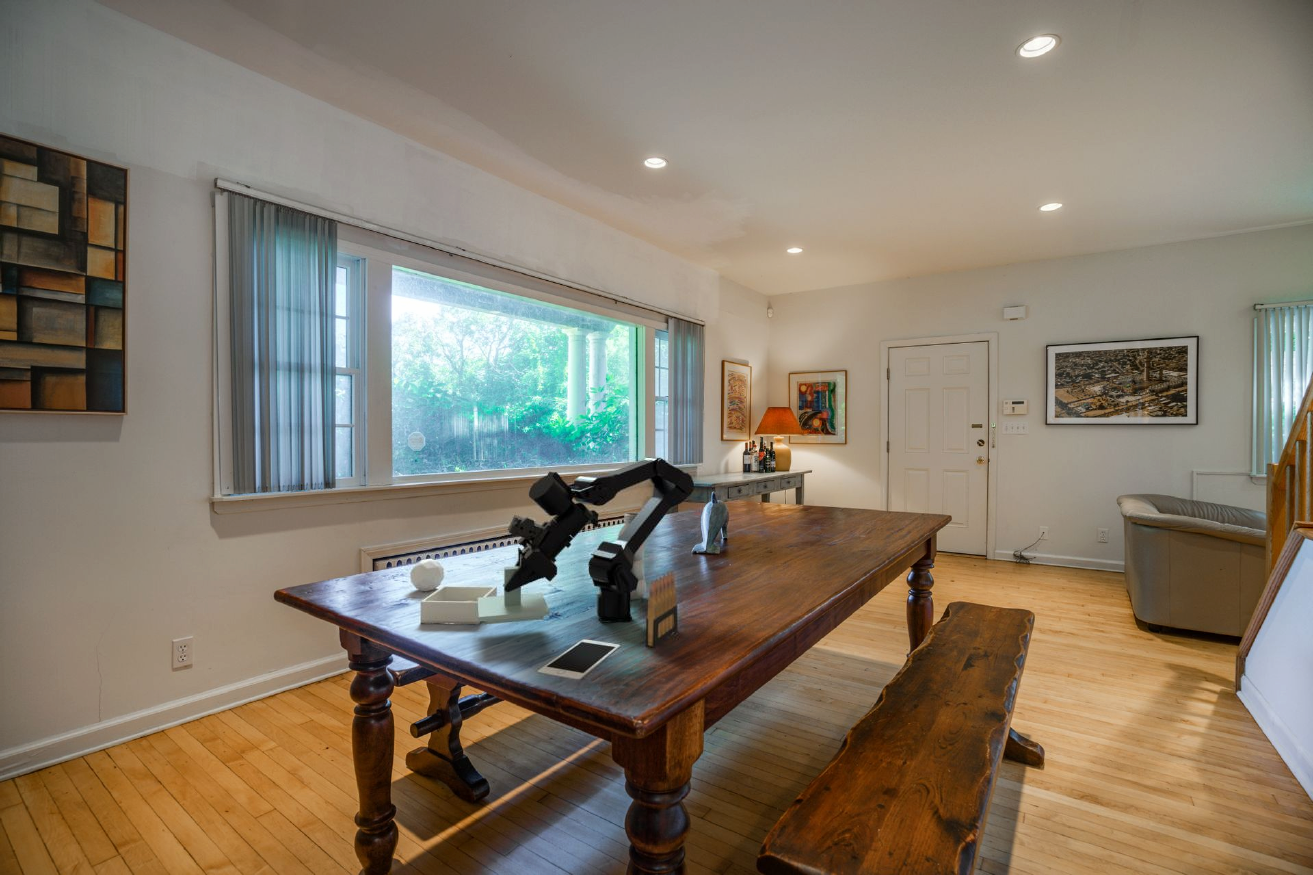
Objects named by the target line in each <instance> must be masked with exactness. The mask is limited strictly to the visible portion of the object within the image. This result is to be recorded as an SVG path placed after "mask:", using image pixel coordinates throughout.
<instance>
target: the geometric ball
mask: <svg viewBox="0 0 1313 875" xmlns="http://www.w3.org/2000/svg"><path fill="white" fill-rule="evenodd" d="M444 570H445V569H444V567H443V566H442V564H440V562H439V561H438V560H435V559H433V558H428V559H427V558H425V559H421V560H420V561H418V562H417V563H416V564H414V566H413V568H412V569H411V570H410V572H409V574H410V582H411V584H412V586H414V588H416V589H417V590H418V591H421V592H423V591H425V592H431V591H434V590H435V589H437V588H438V587H439V586H440V585H441V584H442V582H443V581H444V578H445V572H444Z"/></svg>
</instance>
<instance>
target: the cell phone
mask: <svg viewBox="0 0 1313 875" xmlns="http://www.w3.org/2000/svg"><path fill="white" fill-rule="evenodd" d="M620 647H621V645H620V644H618V643H617V644H616V643H610V642H605V641H598V640H591V639H581V640H580V641H579V642H577V643H576V644H574V645H572V646H571V647H569V649H567V650H566V651H564V652H562V653H561V654H560V655H558V656H557V657H554V659H553V660H551V661H550V662H548V663H546V664H545V665H544V666H542V667H541V668H539V669H538V670H537V673H538V674H542V673H543V675H547V676H554V677H560V678H565V679H569V680H570V679H571V680H578V681H579V680H581V679H583V678H584V677H585V676H587V674H589V673H590V672H591V671H593V669H594V668H596V667H598V665H600V664H601V663H602V662H603V661H605V660H606V659H607V658H608V657H609V656H611V655H612V654H613V653H614V652H616V651H617V650H618V649H619V648H620Z"/></svg>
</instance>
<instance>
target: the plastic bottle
mask: <svg viewBox="0 0 1313 875" xmlns="http://www.w3.org/2000/svg"><path fill="white" fill-rule="evenodd" d="M638 513H639V512H638ZM638 513H637V512H625V513H624V518H623V523H624V525H623V526H622V527H621V529H620V530H619V532H618V534H617V539H618V538H619V537H620V535H621V534H622V533H623V532H624V531H625V529H626V528H627V527H628V526H629V524H630V523H631V522H632V521H633V520H634V518H635V517H636V516H637V515H638ZM645 546H646V540H645V541H644V543H643V544H642V545H641V547H640V548H639V549H638V550H637V552H636V553H635V555H634V561H633V568H632V569H631V572H632V573H633V574H634V575H635V577H636V578H637V579H638V585H637V589H636V590H634V591H632V592H631V601H632V600H640V599H642V598H644V596H645V595H646V592H647V582H646V579H645V569H644V562H645V560H644V558H645Z"/></svg>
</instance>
